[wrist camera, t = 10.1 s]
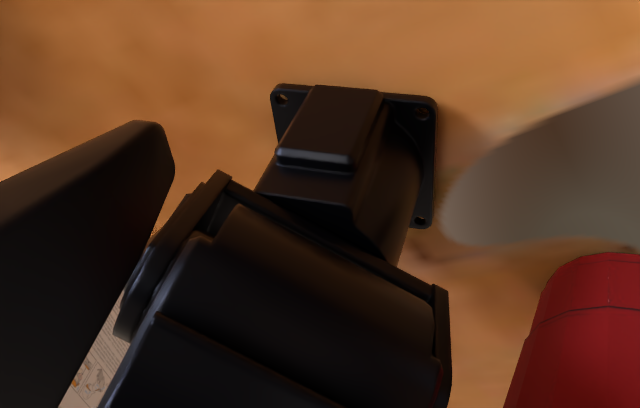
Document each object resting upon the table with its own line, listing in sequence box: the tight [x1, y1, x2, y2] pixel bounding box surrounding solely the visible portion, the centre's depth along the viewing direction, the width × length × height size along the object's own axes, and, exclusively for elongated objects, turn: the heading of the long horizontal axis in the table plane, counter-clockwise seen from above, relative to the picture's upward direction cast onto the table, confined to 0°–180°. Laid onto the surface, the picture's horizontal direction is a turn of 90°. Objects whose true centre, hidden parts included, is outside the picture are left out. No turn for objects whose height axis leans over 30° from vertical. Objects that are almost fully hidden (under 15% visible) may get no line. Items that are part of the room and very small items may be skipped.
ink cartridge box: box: [58, 291, 130, 408], centre depth 33 cm, size 2×11×10 cm, turn 12°
